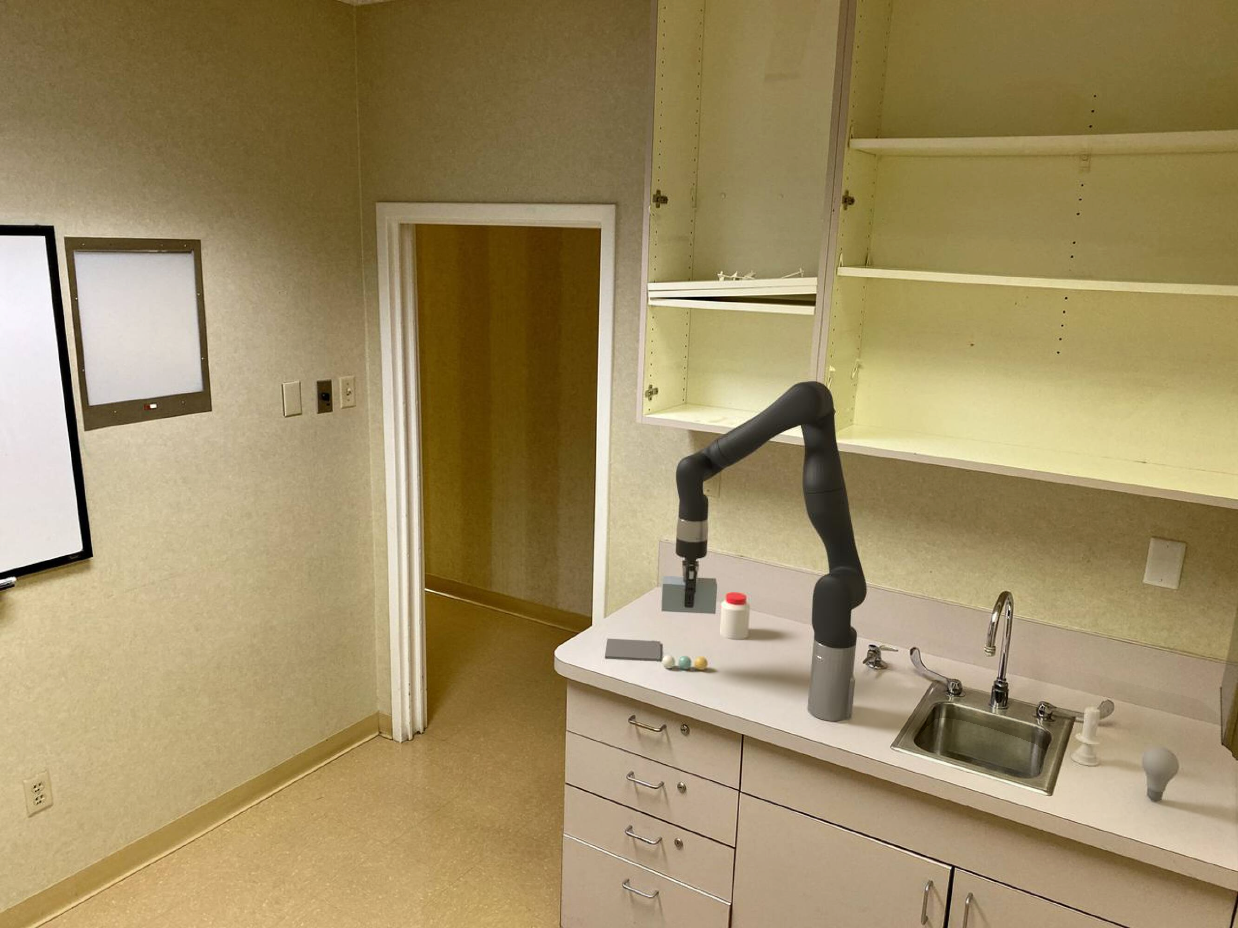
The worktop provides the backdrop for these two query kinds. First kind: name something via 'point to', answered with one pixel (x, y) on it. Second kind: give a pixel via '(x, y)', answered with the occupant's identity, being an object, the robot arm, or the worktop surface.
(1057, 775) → the worktop surface
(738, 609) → the pill bottle
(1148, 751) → the lightbulb
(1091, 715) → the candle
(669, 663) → the marble white
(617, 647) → the mat
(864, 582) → the robot arm
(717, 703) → the worktop surface
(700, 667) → the marble amber
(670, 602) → the cover
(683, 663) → the marble teal
